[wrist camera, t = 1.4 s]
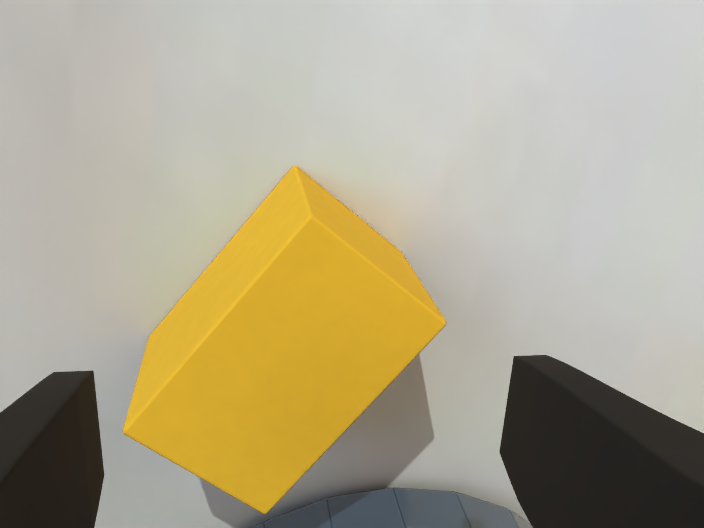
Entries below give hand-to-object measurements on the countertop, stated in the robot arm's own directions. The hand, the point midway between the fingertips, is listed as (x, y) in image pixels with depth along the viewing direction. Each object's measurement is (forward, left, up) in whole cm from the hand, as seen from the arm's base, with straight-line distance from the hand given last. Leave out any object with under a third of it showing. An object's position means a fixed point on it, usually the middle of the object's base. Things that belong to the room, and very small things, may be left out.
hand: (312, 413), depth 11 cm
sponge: (-1, +1, -9) cm, 9 cm away
